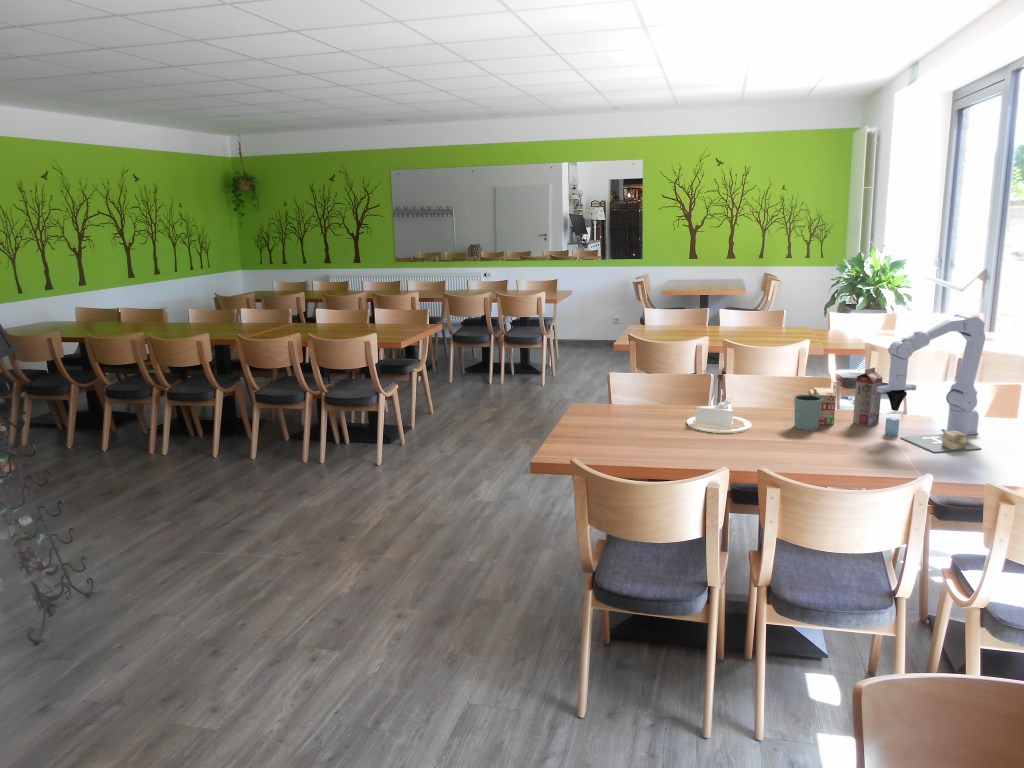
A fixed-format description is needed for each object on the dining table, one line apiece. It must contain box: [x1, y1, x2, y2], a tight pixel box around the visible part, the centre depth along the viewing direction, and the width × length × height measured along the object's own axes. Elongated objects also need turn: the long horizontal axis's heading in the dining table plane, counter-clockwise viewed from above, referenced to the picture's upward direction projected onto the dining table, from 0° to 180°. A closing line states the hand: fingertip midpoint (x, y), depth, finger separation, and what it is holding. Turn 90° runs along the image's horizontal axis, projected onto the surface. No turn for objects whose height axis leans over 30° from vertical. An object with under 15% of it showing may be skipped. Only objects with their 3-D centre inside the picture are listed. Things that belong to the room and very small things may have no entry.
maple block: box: [942, 431, 967, 449], centre depth 264 cm, size 5×5×5 cm
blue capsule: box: [884, 417, 900, 437], centre depth 282 cm, size 4×4×6 cm
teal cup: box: [793, 394, 822, 431], centre depth 293 cm, size 10×10×12 cm
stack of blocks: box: [808, 387, 837, 426], centre depth 306 cm, size 21×6×12 cm, turn 169°
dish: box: [686, 397, 753, 434], centre depth 299 cm, size 25×25×11 cm
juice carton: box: [852, 367, 883, 427], centre depth 295 cm, size 7×7×22 cm
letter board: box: [900, 433, 982, 454], centre depth 270 cm, size 18×18×1 cm
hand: (894, 410), depth 280 cm, fingers closed
